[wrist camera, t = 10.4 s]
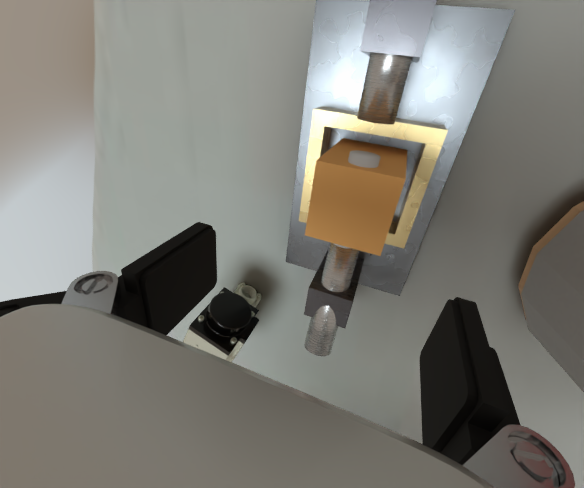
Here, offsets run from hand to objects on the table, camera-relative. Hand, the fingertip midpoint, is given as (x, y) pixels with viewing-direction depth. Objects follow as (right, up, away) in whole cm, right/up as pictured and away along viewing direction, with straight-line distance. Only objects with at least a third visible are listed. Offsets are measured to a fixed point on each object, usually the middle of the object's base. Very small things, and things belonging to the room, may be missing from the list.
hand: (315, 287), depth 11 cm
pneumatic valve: (-6, -5, +27) cm, 29 cm away
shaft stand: (+6, +7, +15) cm, 17 cm away
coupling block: (+5, +7, +12) cm, 15 cm away
